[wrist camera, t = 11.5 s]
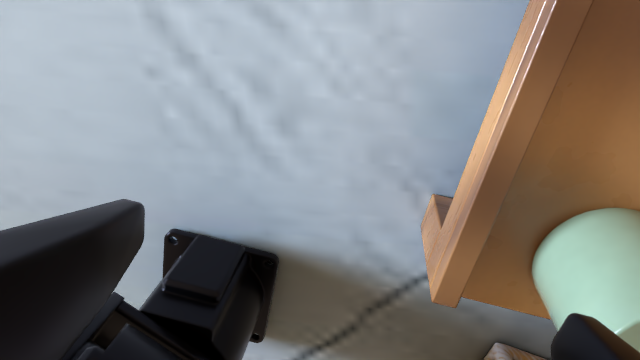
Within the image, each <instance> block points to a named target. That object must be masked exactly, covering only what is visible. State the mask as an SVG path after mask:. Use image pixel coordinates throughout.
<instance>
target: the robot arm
mask: <svg viewBox="0 0 640 360" xmlns="http://www.w3.org/2000/svg"><path fill="white" fill-rule="evenodd" d="M144 218H145V210H144V206H143V205H142V204H141V203H139V202H135V201H131V200H127V199H121V200H117V201H114V202H110V203H106V204H102V205H98V206H94V207H91V208H87V209H83V210H79V211H75V212H71V213H67V214H64V215H60V216H56V217H52V218H48V219H44V220H40V221H37V222H33V223H29V224H25V225H21V226H17V227H13V228H10V229H6V230H2V231H0V360H242V358H243V355H244V353H245V350H246V348H247V345H248V342H249V341H251V342H254V343H259V342H261V341H263V339H264V336H265V332H266V327H267V322H268V316H269V311H270V306H271V301H272V296H273V291H274V286H275V280H276V275H277V270H278V265H279V259H278V257H277V256H276V255H275V254H272V253H269V252H265V251H261V250H257V249H253V248H249V247H245V246H242V245H239V244H235V243H231V242H227V241H223V240H219V239H215V238H211V237H207V236H203V235H198V234H194V233H190V232H186V231H182V230H178V229H171V230H170V231H169V232H168V233H167V234H166V235H165V239H164V261H163V279H162V280H161V282H160V283H159V284H158V286H157V287H156V288H155V290H154V291H153V292H152V293H151V295H150V296H149V297H148V299H147V300H146V301H145V303H144V304H143V305H142V306H141V308H140V309H139V310H137V309H136V308H134V307H133V306H131V305H130V304H128V303H127V302H125V301H124V298H123V297H122V296H120V295H119V294H117V293H116V292H113V291H114V289H115V288H116V286H117V284H118V283H119V281H120V280H121V278H122V276H123V275H124V273H125V272H126V270H127V268H128V267H129V265H130V264H131V262H132V260H133V259H134V257H135V256H136V254H137V252H138V251H139V249H140V247H141V245H142V243H143V240H144ZM172 236H173V237H175V238H176V239H177V240H175V239H173V237H172ZM266 261H270V262H272V263H273V264H268V263H267V262H266ZM112 292H113V293H112ZM254 333H256V334H258V335H256V334H254ZM551 357H552V360H640V352H638V351H637V350H636V349H635V348H633V347H632V346H631V345H629V344H628V343H627V342H625V341H624V340H623V339H622V338H620V337H619V336H618V335H616V334H615V333H614V332H613V331H611V330H610V329H609V328H607V327H606V326H605V325H603V324H602V323H601V322H600V321H598V320H597V319H595V318H593V317H591V316H586V315H582V314H578V313H571V314H570V315H568V316H567V318H566V319H565V321H564V323H563V324H562V326H561V328H560V329H559V331H558V332H557V334H556V336H555V337H554V339H553V341H552V344H551Z"/></svg>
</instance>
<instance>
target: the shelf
mask: <svg viewBox="0 0 640 360" xmlns="http://www.w3.org/2000/svg"><path fill="white" fill-rule="evenodd" d="M602 208H627V209H632V210H637V211H640V0H530V1H529V4H528V6H527V9H526V12H525V14H524V17H523V19H522V22H521V25H520V27H519V30H518V32H517V35H516V38H515V40H514V43H513V45H512V48H511V50H510V53H509V56H508V58H507V61H506V63H505V66H504V69H503V71H502V74H501V76H500V79H499V81H498V84H497V87H496V89H495V92H494V94H493V97H492V100H491V102H490V105H489V107H488V110H487V112H486V115H485V118H484V120H483V123H482V125H481V128H480V131H479V133H478V136H477V138H476V141H475V144H474V146H473V149H472V151H471V154H470V156H469V159H468V162H467V164H466V167H465V169H464V172H463V175H462V177H461V180H460V182H459V185H458V187H457V190H456V193H455V195H454V198H453V199H452V198H448V197H444V196H440V195H435V194H433V195H432V196H431V199H430V202H429V204H428V207H427V210H426V213H425V215H424V218H423V221H422V224H421V232H422V239H423V245H424V252H425V259H426V265H427V273H428V280H429V286H430V293H431V300H432V302H433V303H437V304H441V305H445V306H449V307H453V308H456V307H457V305H458V303H459V300H460V298H461V297H464V298H468V299H472V300H476V301H480V302H483V303H487V304H491V305H495V306H499V307H503V308H507V309H511V310H515V311H519V312H523V313H527V314H531V315H535V316H539V317H543V318H547V319H551V318H550V316H549V314H548V312H547V310H546V308H545V306H544V304H543V302H542V300H541V298H540V296H539V294H538V292H537V290H536V288H535V285H534V283H533V279H532V271H531V270H532V262H533V258H534V255H535V252H536V250H537V248H538V246H539V245H540V243H541V242H542V240H543V239H544V238H545V237H546V236H547V235H548V234H549V233H550V232H551V231H552V230H553V229H554V228H555V227H557V226H558V225H559V224H561V223H563V222H564V221H566V220H568V219H570V218H572V217H574V216H576V215H578V214H581V213H584V212H587V211H591V210H595V209H602Z"/></svg>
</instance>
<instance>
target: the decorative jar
mask: <svg viewBox="0 0 640 360" xmlns="http://www.w3.org/2000/svg"><path fill="white" fill-rule="evenodd" d="M484 360H547V359H544V358H541V357H538V356H535V355H532V354H530V353H528V352H525V351H522V350H519V349H517V348H514V347H511V346H508V345H505V344H501V343H495V344H494V345H493V347H492V348H491V350H490V351H489V352H488V354H487V355H486V357H485V358H484Z"/></svg>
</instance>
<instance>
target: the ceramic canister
mask: <svg viewBox="0 0 640 360" xmlns="http://www.w3.org/2000/svg"><path fill="white" fill-rule="evenodd" d="M531 271H532V279H533V283H534V285H535V288H536V290H537V292H538V294H539V296H540V298H541V300H542V302H543V304H544V306H545V308H546V310H547V312H548V314H549V316H550V318H551V320H552V322H553V324H554V326H555V328H556V329H557V331H559V329H560V328H561V326H562V324H563V323H564V321H565V319H566V318H567V316H568V315H570V314H571V313H578V314H582V315H586V316H591V317H593V318H595V319H597V320H598V321H600V322H601V323H602V324H603V325H605V326H606V327H607V328H609V329H610V330H611V331H613V332H614V333H615V334H616V335H618V336H619V337H620V338H622V339H623V340H624V341H625V342H627V343H628V344H629V345H631V346H632V347H633V348H635V349H636V350H637V351H638V352H640V211H637V210H632V209H627V208H602V209H595V210H591V211H587V212H584V213H581V214H578V215H576V216H574V217H572V218H570V219H568V220H566V221H564V222H563V223H561V224H559V225H558V226H557V227H555V228H554V229H553V230H552V231H551V232H550V233H549V234H548V235H547V236H546V237H545V238H544V239H543V240H542V242H541V243H540V245H539V246H538V248H537V250H536V252H535V255H534V258H533V262H532V270H531Z"/></svg>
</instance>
